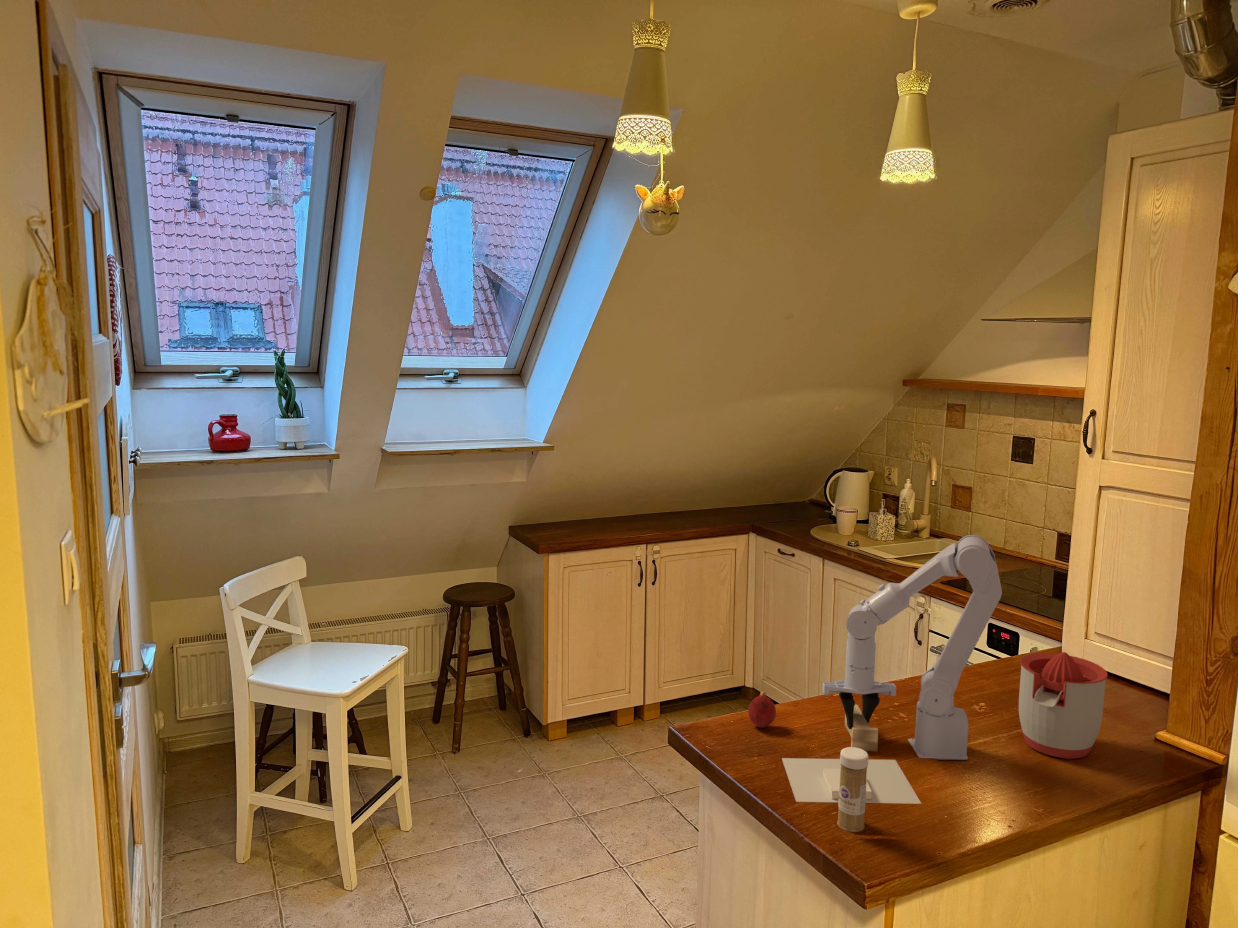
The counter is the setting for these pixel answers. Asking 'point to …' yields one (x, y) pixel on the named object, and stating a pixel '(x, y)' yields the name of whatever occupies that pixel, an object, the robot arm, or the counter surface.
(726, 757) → the counter surface
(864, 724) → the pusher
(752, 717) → the onion
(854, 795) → the sprinkles bottle
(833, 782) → the tile
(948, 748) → the robot arm
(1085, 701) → the citrus juicer
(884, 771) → the mat
